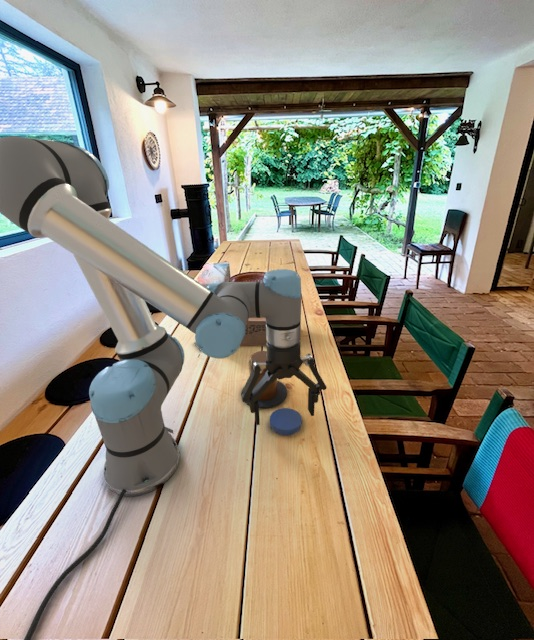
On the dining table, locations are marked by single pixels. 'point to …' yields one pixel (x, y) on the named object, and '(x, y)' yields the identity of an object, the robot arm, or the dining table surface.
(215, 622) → the dining table surface
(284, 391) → the coaster
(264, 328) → the tissue box cover
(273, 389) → the jar
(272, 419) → the lid
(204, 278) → the soda box
